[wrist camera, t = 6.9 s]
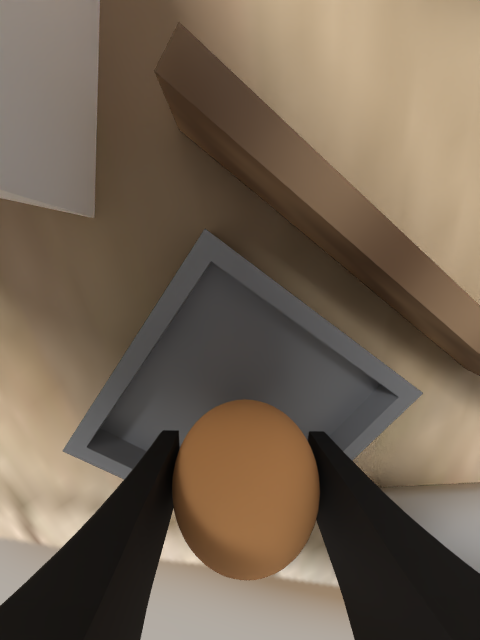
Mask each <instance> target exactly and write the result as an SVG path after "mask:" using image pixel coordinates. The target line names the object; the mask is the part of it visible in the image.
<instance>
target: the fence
mask: <svg viewBox="0 0 480 640" xmlns="http://www.w3.org/2000/svg"><path fill="white" fill-rule="evenodd" d="M154 71H155V74H156V76H157V78H158V81H159V83H160V86H161V88H162V90H163V93H164V95H165V97H166V100H167V102H168V104H169V107H170V109H171V112H172V114H173V116H174V119H175V121H176V123H177V126H178V128H179V130H180V131H181V132H183V133H184V134H185V135H186V136H187V137H189V138H190V139H191V140H192V141H193V142H195V143H196V144H197V145H198V146H199V147H201V148H202V149H203V150H204V151H205V152H207V153H208V154H209V155H210V156H211V157H213V158H214V159H215V160H216V161H217V162H219V163H220V164H221V165H222V166H223V167H225V168H226V169H227V170H228V171H229V172H231V173H232V174H233V175H234V176H235V177H237V178H238V179H239V180H240V181H241V182H243V183H244V184H245V185H246V186H247V187H249V188H250V189H251V190H252V191H253V192H255V193H256V194H257V195H258V196H259V197H261V198H262V199H263V200H264V201H265V202H267V203H268V204H269V205H270V206H271V207H273V208H274V209H275V210H276V211H277V212H279V213H280V214H281V215H282V216H283V217H285V218H286V219H287V220H288V221H289V222H291V223H292V224H293V225H294V226H295V227H297V228H298V229H299V230H300V231H301V232H303V233H304V234H305V235H306V236H307V237H309V238H310V239H311V240H312V241H313V242H315V243H316V244H317V245H318V246H319V247H321V248H322V249H323V250H324V251H325V252H327V253H328V254H329V255H330V256H331V257H333V258H334V259H335V260H336V261H337V262H339V263H340V264H341V265H342V266H343V267H345V268H346V269H347V270H348V271H349V272H351V273H352V274H353V275H354V276H355V277H356V278H358V279H359V280H360V281H361V282H362V283H364V284H365V285H366V286H367V287H368V288H370V289H371V290H372V291H373V292H374V293H376V294H377V295H378V296H379V297H380V298H382V299H383V300H384V301H385V302H386V303H388V304H389V305H390V306H391V307H392V308H394V309H395V310H396V311H397V312H398V313H400V314H401V315H402V316H403V317H404V318H406V319H407V320H408V321H409V322H410V323H412V324H413V325H414V326H415V327H416V328H418V329H419V330H420V331H421V332H422V333H424V334H425V335H426V336H427V337H428V338H430V339H431V340H432V341H433V342H434V343H436V344H437V345H438V346H439V347H440V348H442V349H443V350H444V351H445V352H446V353H448V354H449V355H450V356H451V357H452V358H454V359H455V360H456V361H457V362H458V363H460V364H461V365H462V366H463V367H464V368H466V369H467V370H469V371H471V372H473V373H475V374H477V375H479V376H480V305H479V304H478V303H477V302H476V301H474V300H473V299H472V298H471V297H470V296H469V295H468V294H467V293H466V292H465V291H464V290H463V289H462V288H461V287H460V286H459V285H457V284H456V283H455V282H454V281H453V280H452V279H451V278H450V277H449V276H448V275H447V274H446V273H445V272H444V271H443V270H442V269H441V268H439V267H438V266H437V265H436V264H435V263H434V262H433V261H432V260H431V259H430V258H429V257H428V256H427V255H426V254H425V253H424V252H422V251H421V250H420V249H419V248H418V247H417V246H416V245H415V244H414V243H413V242H412V241H411V240H410V239H409V238H408V237H407V236H406V235H404V234H403V233H402V232H401V231H400V230H399V229H398V228H397V227H396V226H395V225H394V224H393V223H392V222H391V221H390V220H389V219H387V218H386V217H385V216H384V215H383V214H382V213H381V212H380V211H379V210H378V209H377V208H376V207H375V206H374V205H373V204H372V203H370V202H369V201H368V200H367V199H366V198H365V197H364V196H363V195H362V194H361V193H360V192H359V191H358V190H357V189H356V188H355V187H354V186H352V185H351V184H350V183H349V182H348V181H347V180H346V179H345V178H344V177H343V176H342V175H341V174H340V173H339V172H338V171H337V170H335V169H334V168H333V167H332V166H331V165H330V164H329V163H328V162H327V161H326V160H325V159H324V158H323V157H322V156H321V155H320V154H319V153H317V152H316V151H315V150H314V149H313V148H312V147H311V146H310V145H309V144H308V143H307V142H306V141H305V140H304V139H303V138H302V137H300V136H299V135H298V134H297V133H296V132H295V131H294V130H293V129H292V128H291V127H290V126H289V125H288V124H287V123H286V122H285V121H284V120H282V119H281V118H280V117H279V116H278V115H277V114H276V113H275V112H274V111H273V110H272V109H271V108H270V107H269V106H268V105H267V104H265V103H264V102H263V101H262V100H261V99H260V98H259V97H258V96H257V95H256V94H255V93H254V92H253V91H252V90H251V89H250V88H248V87H247V86H246V85H245V84H244V83H243V82H242V81H241V80H240V79H239V78H238V77H237V76H236V75H235V74H234V73H233V72H232V71H230V70H229V69H228V68H227V67H226V66H225V65H224V64H223V63H222V62H221V61H220V60H219V59H218V58H217V57H216V56H215V55H213V54H212V53H211V52H210V51H209V50H208V49H207V48H206V47H205V46H204V45H203V44H202V43H201V42H200V41H199V40H198V39H197V38H195V37H194V36H193V35H192V34H191V33H190V32H189V31H188V30H187V29H186V28H185V27H184V26H183V25H182V24H181V23H180V22H179V23H178V25H177V27H176V29H175V30H174V32H173V34H172V36H171V38H170V40H169V42H168V44H167V46H166V48H165V50H164V52H163V54H162V56H161V58H160V60H159V62H158V64H157V66H156V68H155V70H154Z"/></svg>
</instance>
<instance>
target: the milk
mask: <svg viewBox="0 0 480 640" xmlns="http://www.w3.org/2000/svg"><path fill="white" fill-rule="evenodd" d="M99 19H100V0H0V198H2V199H7V200H11V201H16V202H21V203H25V204H30V205H35V206H39V207H44V208H49V209H53V210H58V211H63V212H67V213H72V214H77V215H81V216H86V217H91V218H95V179H96V139H97V99H98V59H99Z"/></svg>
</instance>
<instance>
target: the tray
mask: <svg viewBox="0 0 480 640" xmlns="http://www.w3.org/2000/svg"><path fill="white" fill-rule="evenodd" d="M422 394H423V393H422V392H421V391H420V390H418V389H417V388H416V387H414V386H413V385H412V384H410V383H409V382H408V381H406V380H405V379H404V378H402V377H401V376H400V375H398V374H397V373H396V372H395V371H393V370H392V369H391V368H389V367H388V366H387V365H385V364H384V363H383V362H381V361H380V360H379V359H377V358H376V357H375V356H373V355H372V354H371V353H369V352H368V351H367V350H365V349H364V348H363V347H361V346H360V345H359V344H357V343H356V342H355V341H353V340H352V339H351V338H349V337H348V336H347V335H345V334H344V333H343V332H341V331H340V330H339V329H337V328H336V327H335V326H334V325H332V324H331V323H330V322H328V321H327V320H326V319H324V318H323V317H322V316H320V315H319V314H318V313H316V312H315V311H314V310H312V309H311V308H310V307H308V306H307V305H306V304H304V303H303V302H302V301H300V300H299V299H298V298H296V297H295V296H294V295H292V294H291V293H290V292H288V291H287V290H286V289H284V288H283V287H282V286H280V285H279V284H278V283H276V282H275V281H274V280H273V279H271V278H270V277H269V276H267V275H266V274H265V273H263V272H262V271H261V270H259V269H258V268H257V267H255V266H254V265H253V264H251V263H250V262H249V261H247V260H246V259H245V258H243V257H242V256H241V255H239V254H238V253H237V252H235V251H234V250H233V249H231V248H230V247H229V246H227V245H226V244H225V243H223V242H222V241H221V240H219V239H218V238H217V237H215V236H214V235H213V234H211V233H210V232H209V231H208V230H206V229H204V231H203V232H202V234H201V236H200V237H199V239H198V240H197V242H196V243H195V245H194V246H193V248H192V250H191V251H190V253H189V254H188V256H187V257H186V259H185V260H184V262H183V264H182V265H181V267H180V268H179V270H178V271H177V273H176V275H175V276H174V278H173V279H172V281H171V282H170V284H169V285H168V287H167V289H166V290H165V292H164V293H163V295H162V296H161V298H160V299H159V301H158V303H157V304H156V306H155V307H154V309H153V310H152V312H151V314H150V315H149V317H148V318H147V320H146V321H145V323H144V324H143V326H142V328H141V329H140V331H139V332H138V334H137V335H136V337H135V338H134V340H133V342H132V343H131V345H130V346H129V348H128V349H127V351H126V353H125V354H124V356H123V357H122V359H121V360H120V362H119V363H118V365H117V367H116V368H115V370H114V371H113V373H112V374H111V376H110V377H109V379H108V381H107V382H106V384H105V385H104V387H103V388H102V390H101V392H100V393H99V395H98V396H97V398H96V399H95V401H94V402H93V404H92V406H91V407H90V409H89V410H88V412H87V413H86V415H85V416H84V418H83V420H82V421H81V423H80V424H79V426H78V427H77V429H76V431H75V432H74V434H73V435H72V437H71V438H70V440H69V441H68V443H67V445H66V446H65V448H64V449H63V452H65V453H67V454H70V455H72V456H74V457H76V458H78V459H81V460H83V461H85V462H87V463H89V464H92V465H94V466H96V467H98V468H100V469H103V470H105V471H107V472H109V473H111V474H114V475H116V476H118V477H120V478H122V479H125V478H126V477H127V476H128V474H129V473H130V472H131V471H132V469H133V468H134V467H135V466H136V465H137V463H138V462H139V461H140V459H141V458H142V457H143V456H144V454H145V453H146V452H147V450H148V449H149V448H150V446H151V445H152V444H153V442H154V441H155V439H156V438H157V437H158V435H159V434H160V433H161V432H162V431H163V430H179V446H180V447H181V445H182V443H183V441H184V439H185V437H186V435H187V434H188V432H189V431H190V429H191V428H192V427H193V426H194V424H195V423H196V422H197V421H198V420H199V419H200V418H201V417H202V416H203V415H204V414H206V413H207V412H208V411H210V410H211V409H213V408H215V407H216V406H219V405H221V404H223V403H226V402H230V401H234V400H243V399H246V400H255V401H260V402H264V403H267V404H269V405H272V406H274V407H275V408H277V409H279V410H280V411H282V412H283V413H285V414H286V415H287V416H288V417H289V418H290V419H291V420H293V422H294V423H295V424H296V425H297V426H298V427H299V429H300V430H301V431H302V433H303V434H304V436H305V437H306V439H307V441H308V435H309V431H324V432H325V433H326V434H327V435H328V436H329V437H330V438H331V439H332V440H333V441H334V442H335V443H336V444H337V445H338V446H339V448H340V449H341V450H342V451H343V452H344V453H345V454H346V455H347V456H348V457H349V458H350V459H351V460H353V459H354V458H355V457H356V456H358V455H359V454H360V453H361V452H362V451H363V450H364V449H365V448H366V447H367V446H368V445H369V444H370V443H371V442H372V441H373V440H374V439H375V438H377V437H378V436H379V435H380V434H381V433H382V432H383V431H384V430H385V429H386V428H387V427H388V426H389V425H390V424H391V423H392V422H393V421H394V420H395V419H397V418H398V417H399V416H400V415H401V414H402V413H403V412H404V411H405V410H406V409H407V408H408V407H409V406H410V405H411V404H412V403H413V402H414V401H416V400H417V399H418V398H419V397H420V396H421V395H422Z"/></svg>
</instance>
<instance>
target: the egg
mask: <svg viewBox="0 0 480 640" xmlns="http://www.w3.org/2000/svg"><path fill="white" fill-rule="evenodd" d="M172 498H173V506H174V512H175V516H176V519H177V523H178V526H179V528H180V530H181V533H182V535H183V537H184V539H185V541H186V542H187V544H188V546H189V547H190V549H191V550H192V551H193V553H194V554H195V555H196V556H197V557H198V558H199V559H200V560H201V561H202V562H203V563H204V564H205V565H206V566H208V567H209V568H210V569H212V570H214V571H215V572H217V573H219V574H221V575H223V576H226V577H229V578H233V579H239V580H257V579H262V578H265V577H268V576H270V575H273V574H275V573H277V572H279V571H281V570H282V569H284V568H285V567H286V566H287V565H288V564H289V563H291V562H292V561H293V560H294V559H295V558H296V557H297V556H298V555H299V553H300V552H301V550H302V549H303V547H304V546H305V544H306V543H307V541H308V539H309V537H310V535H311V532H312V530H313V528H314V525H315V521H316V518H317V514H318V509H319V499H320V483H319V474H318V468H317V464H316V460H315V457H314V454H313V451H312V449H311V447H310V445H309V443H308V441H307V439H306V437H305V436H304V434H303V433H302V431H301V430H300V429H299V427H298V426H297V425H296V424H295V423H294V422H293V420H291V419H290V418H289V417H288V416H287V415H286V414H285V413H283V412H282V411H280V410H279V409H277V408H275V407H274V406H272V405H269V404H267V403H264V402H260V401H255V400H246V399H243V400H234V401H230V402H226V403H223V404H221V405H219V406H216V407H215V408H213V409H211V410H210V411H208V412H207V413H206V414H204V415H203V416H202V417H201V418H200V419H199V420H198V421H197V422H196V423H195V424H194V426H193V427H192V428H191V429H190V431H189V432H188V434H187V435H186V437H185V439H184V441H183V443H182V445H181V447H180V449H179V452H178V455H177V458H176V461H175V466H174V472H173V479H172Z"/></svg>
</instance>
